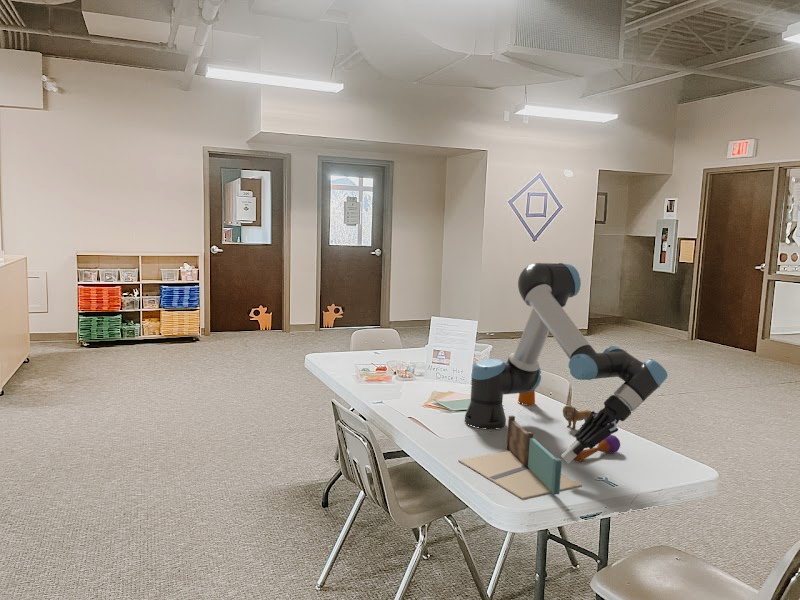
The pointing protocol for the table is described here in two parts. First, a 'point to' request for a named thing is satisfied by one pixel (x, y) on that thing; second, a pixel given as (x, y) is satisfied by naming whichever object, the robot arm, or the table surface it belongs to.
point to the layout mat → (513, 474)
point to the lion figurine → (574, 415)
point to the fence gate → (545, 466)
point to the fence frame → (518, 440)
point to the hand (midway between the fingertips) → (564, 459)
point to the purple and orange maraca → (601, 448)
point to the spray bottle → (527, 397)
